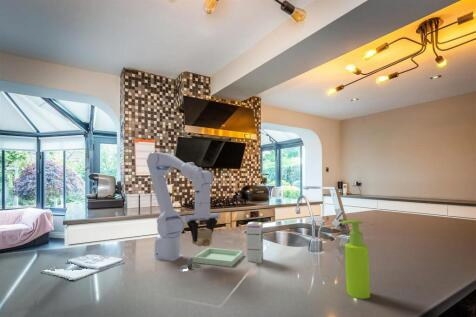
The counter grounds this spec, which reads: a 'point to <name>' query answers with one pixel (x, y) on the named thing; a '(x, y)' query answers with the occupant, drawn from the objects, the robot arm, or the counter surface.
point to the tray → (218, 257)
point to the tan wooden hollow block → (203, 237)
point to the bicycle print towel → (87, 266)
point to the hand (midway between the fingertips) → (202, 240)
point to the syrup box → (254, 242)
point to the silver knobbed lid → (189, 267)
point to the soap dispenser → (356, 263)
